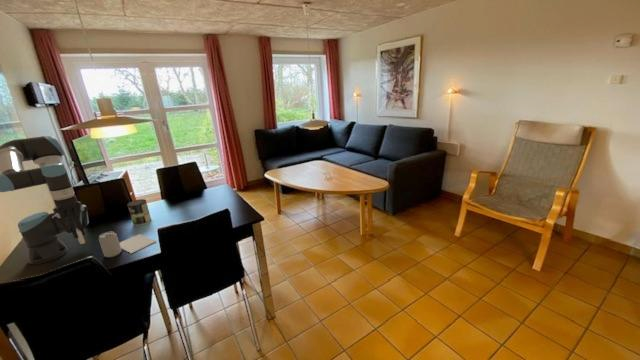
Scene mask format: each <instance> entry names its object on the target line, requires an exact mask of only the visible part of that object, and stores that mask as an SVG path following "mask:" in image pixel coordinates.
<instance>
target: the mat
mask: <svg viewBox="0 0 640 360" xmlns="http://www.w3.org/2000/svg"><path fill="white" fill-rule="evenodd" d="M119 243H120V246H121V249H122V250H123V251H124V252H127V253H128V252H129V254H130V255H132V253H133V254H135V253H137V252H139V251H141V250H142V249H145V248H147V247H149V246H151V245H153V244H155V243H157V240H155V239H152V238H150V237H148V236H146V235H144V234H141V233H138V234H137V235H134V236H132V237H130V238H126V239H124V240H122V241H119ZM134 252H135V253H134Z"/></svg>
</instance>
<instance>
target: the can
mask: <svg viewBox="0 0 640 360" xmlns="http://www.w3.org/2000/svg"><path fill="white" fill-rule="evenodd" d="M98 241H99V245H100V247H101V250H102V253H103V256H104V257H105V258H113V257H117V256H119V255H120V254H121V252H122V250H123V249H121V246H120V241H119V238H118V234H117V233H115V232H114V231H112V230H111V231H107V232H103V233H101V234H100V235H99V236H98Z"/></svg>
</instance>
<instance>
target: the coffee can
mask: <svg viewBox="0 0 640 360" xmlns="http://www.w3.org/2000/svg"><path fill="white" fill-rule="evenodd" d="M126 206H127V208H128V212H129V214H130V217H131V220H132V224H133V226H143V225H147V224H149V223H150V222H152V218H151V214H150V210H149V206H148V204H147V200H146V199H144V198H139V199H134V200H132V201H129V202H128V203H127V205H126Z"/></svg>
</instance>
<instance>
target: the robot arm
mask: <svg viewBox="0 0 640 360" xmlns="http://www.w3.org/2000/svg"><path fill="white" fill-rule="evenodd" d="M63 156H65V151H64V150H63V148H62V146H61V144H60V143H59V141H58V140H57V138H56V137H55V136H52V135H46V136H44V135H41V136H37V137H36V136H35V137H28V138H18V139H13V140H9V141H7V142H4V143H3V144H1V145H0V193H6V192H14V191H18V190H22V189H27V188H32V187H37V186H43V185H46V186H47V188H48V191H49V193H50V197H51V198H52V201H53V204H54V207H53V208H52V211H53V212H51V213H49V212H47V211H41V212H37V213H33V214H31V215H28V216H26V217H25V218H24V217H23V219H21V220H20V221H19V222H18V223H17V228H18V230H19V231H18V232H19V233H20V235H21V236H22V239H23V241H24V242H25V246H26V248H27V261H28V263H29V264H30V265H32V266H33V265H34V266H37V265H42V264H46V263H49V262H52V261H54V260H57V259H59V258H61V257H63V256H64V255H65V254H66V253H68V250H69V249H68V247H67V245H66V244H65V243H64V242H63V241H62V240H60V239H59V237H58V235H60V234H64V233H67V234H71V233H72V236H73V238H75V239H77V240H78V243H79V244H81V245H83V244H85V243H86V241H85V237H84V236H86V234H85V231H84V229H85V228H87V227H88V225H89V223H90V221H89V214H88V209H89V207H88V206H87V205H86V204H82V202H81V201H78V199H77V195H75V191H74V188H73V185H72V183H71V180H70V177H69V174H68V171H67V169H66V167H65V164H64V163H62V160H63ZM29 161H32V162H33V164H35V165H37V166H39V167H36V168H32V169H31V168H30V169H25V166H24V162H29Z"/></svg>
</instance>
